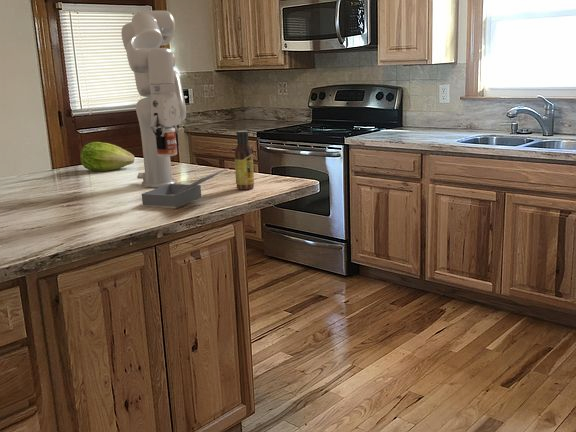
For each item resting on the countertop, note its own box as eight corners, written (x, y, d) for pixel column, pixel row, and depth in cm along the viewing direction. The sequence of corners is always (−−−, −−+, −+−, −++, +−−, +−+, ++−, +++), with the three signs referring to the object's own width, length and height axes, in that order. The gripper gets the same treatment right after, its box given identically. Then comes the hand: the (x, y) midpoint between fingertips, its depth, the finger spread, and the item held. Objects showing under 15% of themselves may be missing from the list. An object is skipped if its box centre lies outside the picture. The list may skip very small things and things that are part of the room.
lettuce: (134, 158, 254) (135, 136, 264) (78, 155, 250) (81, 133, 259) (134, 180, 264) (135, 159, 273) (80, 178, 259) (83, 157, 268)
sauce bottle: (251, 190, 211) (248, 132, 206) (234, 190, 212) (230, 132, 207) (256, 186, 217) (253, 129, 212) (239, 186, 218) (235, 130, 213)
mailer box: (142, 206, 194) (141, 193, 193) (170, 195, 209) (169, 183, 208) (175, 208, 190) (174, 195, 189) (201, 196, 204) (200, 184, 203)
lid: (202, 177, 184) (203, 178, 184) (227, 167, 198) (227, 169, 198) (174, 192, 189) (174, 193, 189) (199, 182, 203) (200, 183, 203)
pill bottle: (170, 157, 192) (167, 121, 189) (153, 156, 194) (150, 121, 191) (181, 154, 197) (178, 119, 194) (164, 153, 199) (161, 119, 197)
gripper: (157, 91, 181) (163, 152, 186) (187, 87, 197) (192, 143, 201) (136, 91, 184) (142, 151, 188) (167, 88, 199) (172, 143, 204)
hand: (167, 147), depth 195 cm, fingers closed on pill bottle, 6 cm apart
